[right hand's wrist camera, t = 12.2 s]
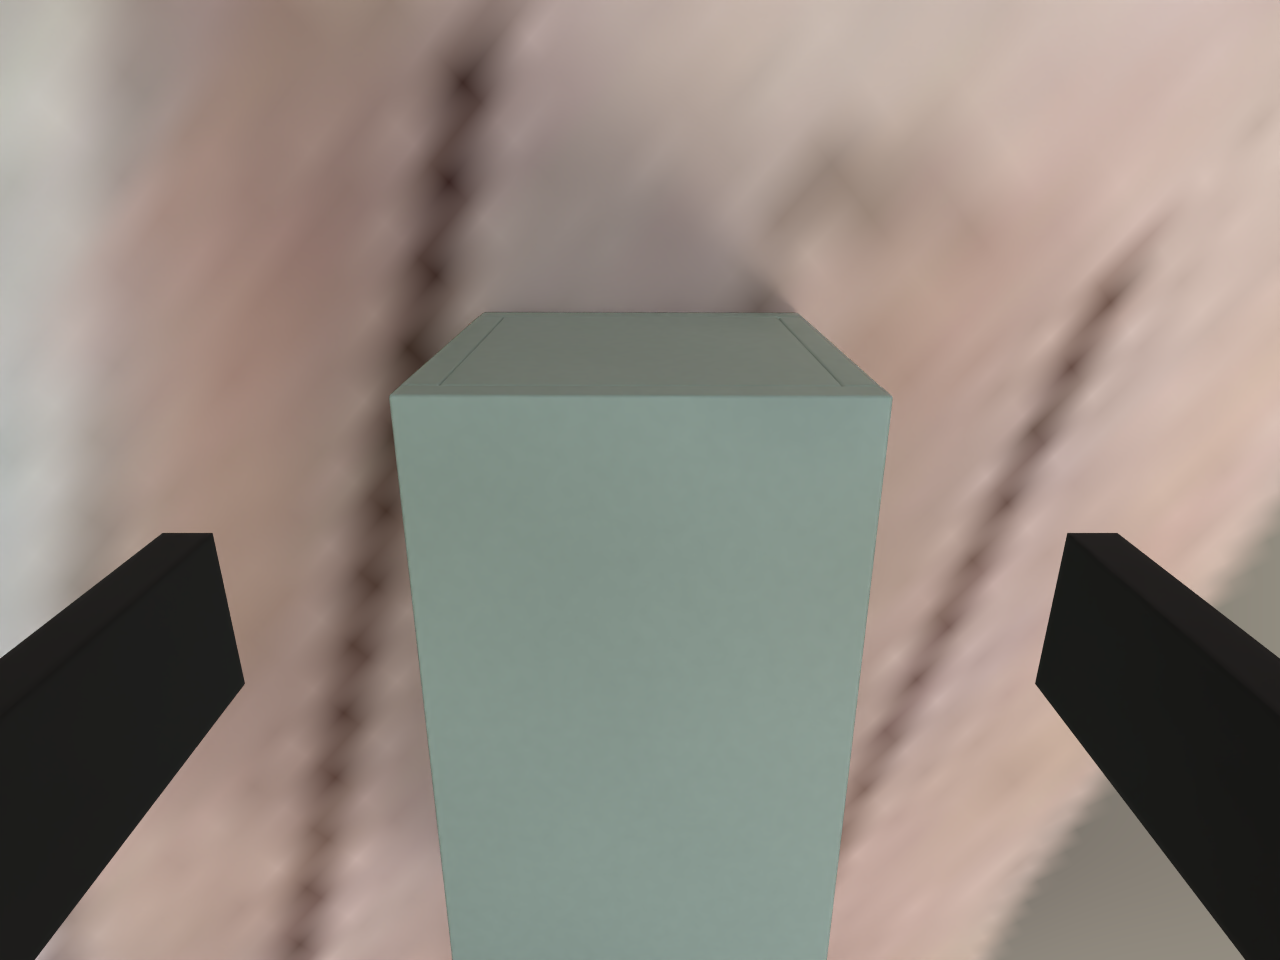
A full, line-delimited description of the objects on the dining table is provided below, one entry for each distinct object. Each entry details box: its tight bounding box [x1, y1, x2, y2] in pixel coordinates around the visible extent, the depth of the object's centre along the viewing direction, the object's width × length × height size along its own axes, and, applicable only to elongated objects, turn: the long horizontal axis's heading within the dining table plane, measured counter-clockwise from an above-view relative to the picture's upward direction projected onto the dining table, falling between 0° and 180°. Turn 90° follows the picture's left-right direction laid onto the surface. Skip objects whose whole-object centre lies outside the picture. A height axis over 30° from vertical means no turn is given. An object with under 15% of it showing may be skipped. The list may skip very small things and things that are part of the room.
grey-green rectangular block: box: [389, 312, 893, 960], centre depth 24 cm, size 17×10×10 cm, turn 0°
